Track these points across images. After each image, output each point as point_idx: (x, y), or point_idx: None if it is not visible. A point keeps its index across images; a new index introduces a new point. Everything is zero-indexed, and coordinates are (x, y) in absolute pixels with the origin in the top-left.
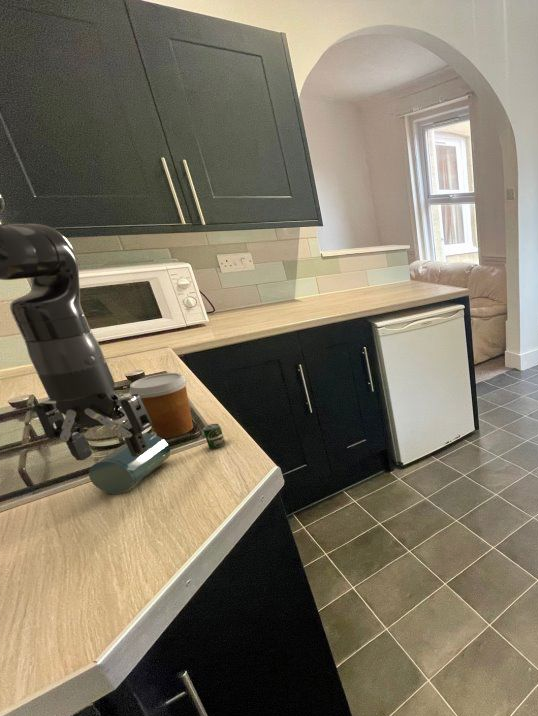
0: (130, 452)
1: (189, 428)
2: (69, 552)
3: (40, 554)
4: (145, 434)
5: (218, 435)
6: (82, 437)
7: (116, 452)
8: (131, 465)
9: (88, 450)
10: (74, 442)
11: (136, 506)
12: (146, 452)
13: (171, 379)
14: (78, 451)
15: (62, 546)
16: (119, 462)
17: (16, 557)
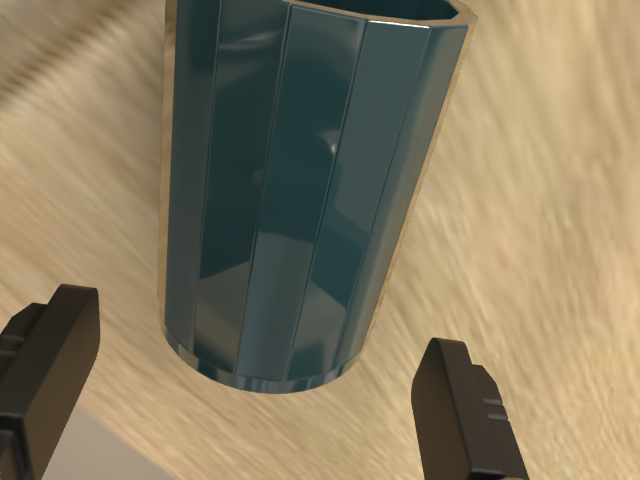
0: (416, 422)
1: None
2: (305, 476)
3: (230, 466)
4: (344, 44)
5: None
6: (31, 418)
7: (270, 315)
8: (369, 328)
9: (82, 322)
10: (41, 466)
11: (395, 346)
12: (404, 220)
13: None
14: (73, 397)
15: (269, 455)
16: (333, 374)
17: (172, 462)
